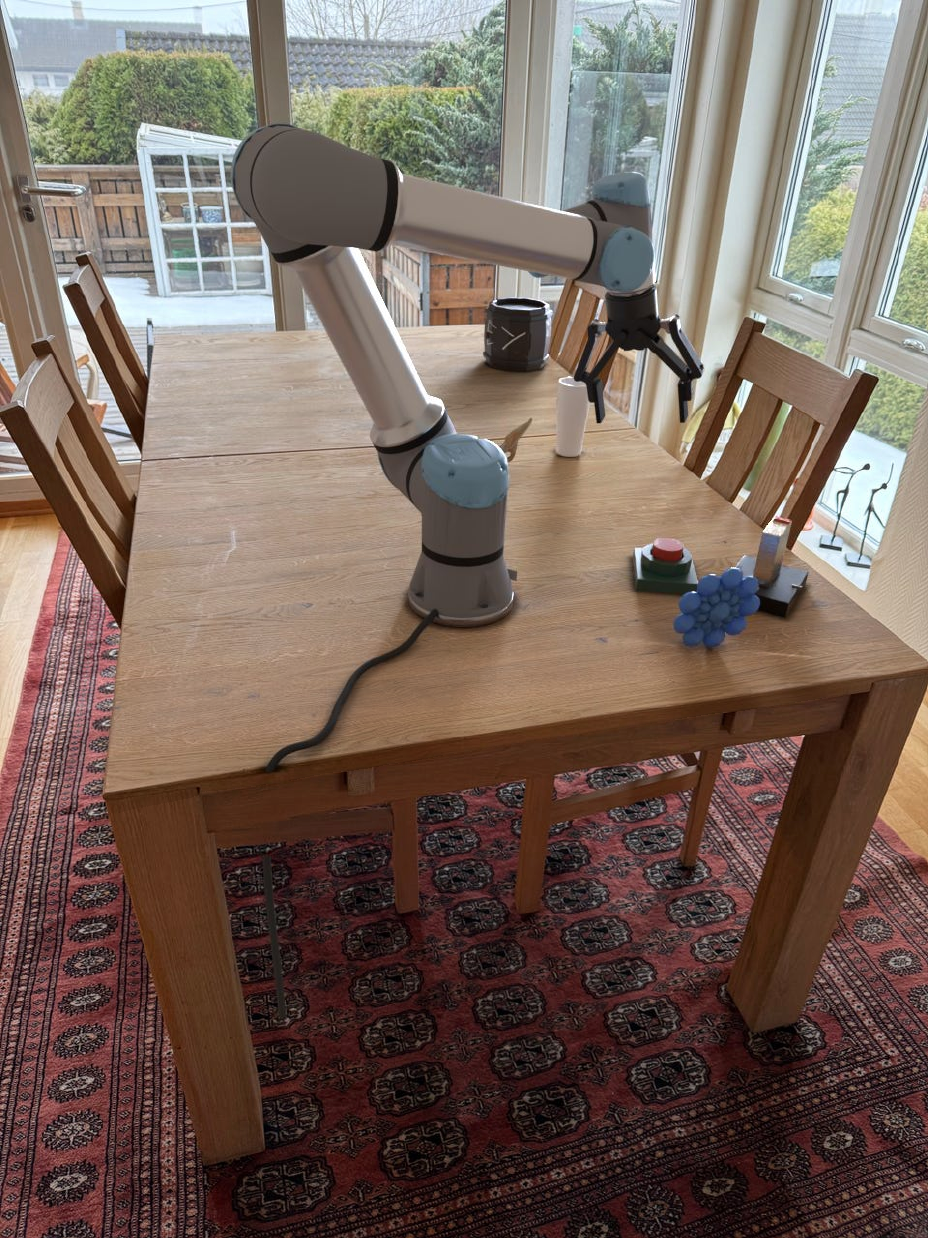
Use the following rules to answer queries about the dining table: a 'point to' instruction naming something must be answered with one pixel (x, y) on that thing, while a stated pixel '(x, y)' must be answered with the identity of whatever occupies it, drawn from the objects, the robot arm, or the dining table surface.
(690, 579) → the button housing
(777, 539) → the silver rectangular block
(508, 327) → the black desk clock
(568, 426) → the drinking glass
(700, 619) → the blue flower
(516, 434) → the oil lamp
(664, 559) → the button
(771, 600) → the black stand base
